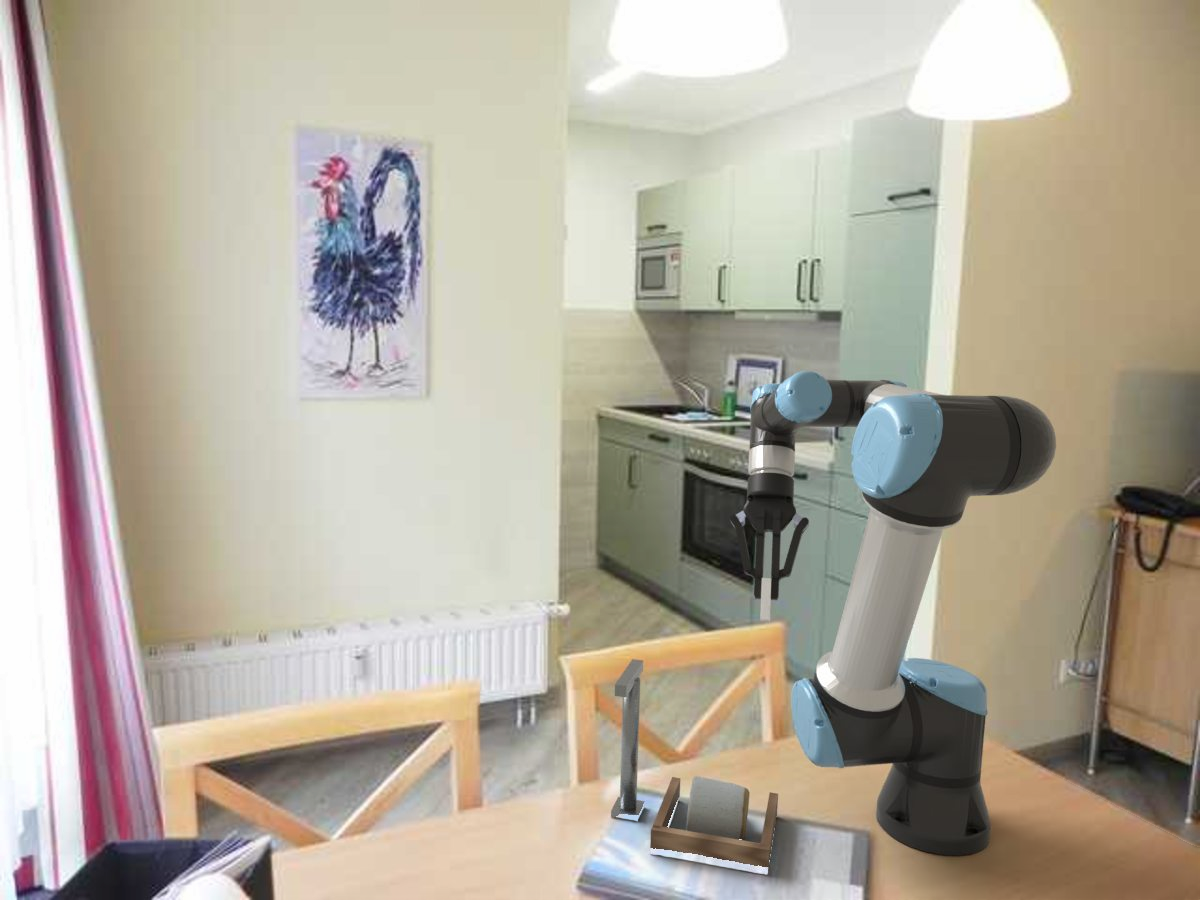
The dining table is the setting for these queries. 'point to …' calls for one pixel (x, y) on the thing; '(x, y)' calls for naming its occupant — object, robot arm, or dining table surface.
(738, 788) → the grey upright rounded block
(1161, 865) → the dining table surface
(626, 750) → the t stake
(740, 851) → the tray frame
